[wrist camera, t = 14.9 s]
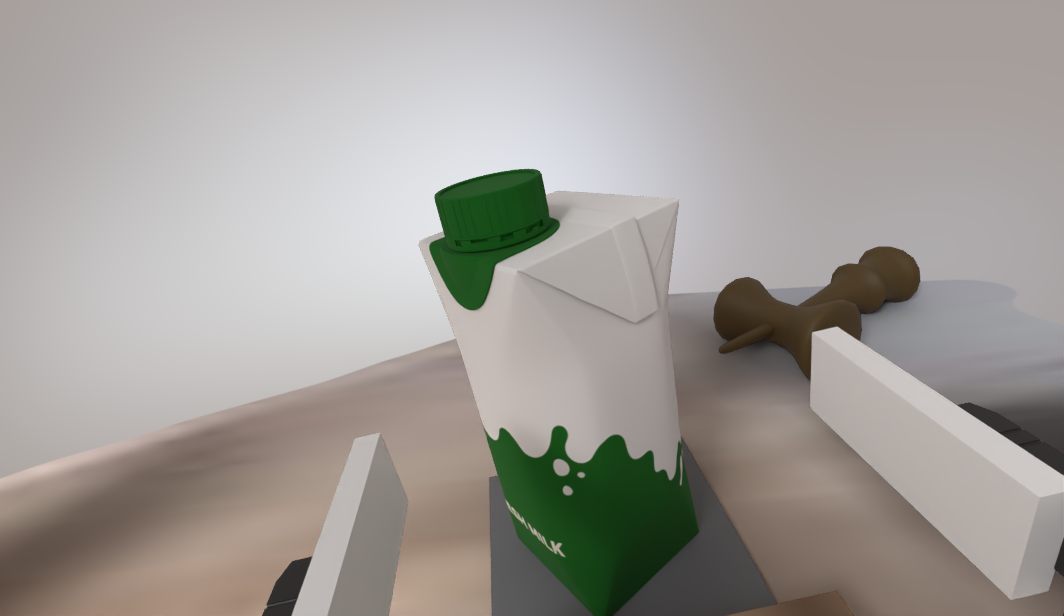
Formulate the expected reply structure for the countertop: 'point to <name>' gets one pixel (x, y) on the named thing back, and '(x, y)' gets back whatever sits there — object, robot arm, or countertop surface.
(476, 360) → the soya milk
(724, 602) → the rubber mat
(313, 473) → the countertop surface
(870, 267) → the kendama
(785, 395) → the countertop surface
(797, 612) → the collar
